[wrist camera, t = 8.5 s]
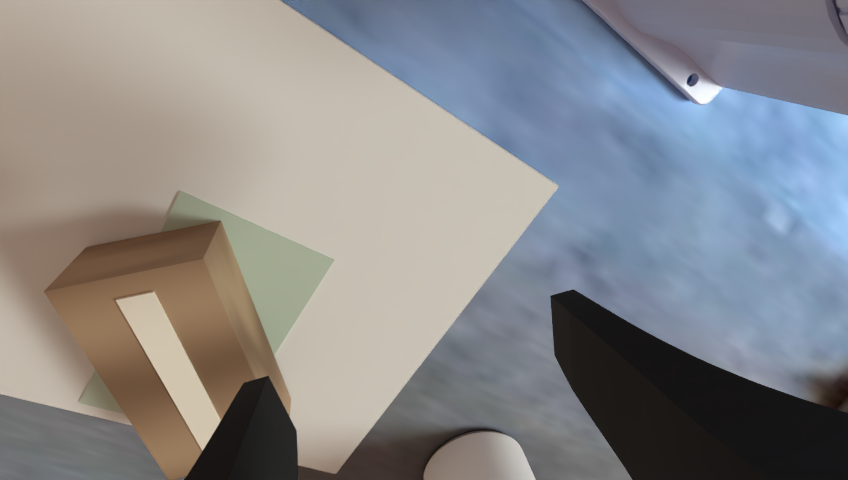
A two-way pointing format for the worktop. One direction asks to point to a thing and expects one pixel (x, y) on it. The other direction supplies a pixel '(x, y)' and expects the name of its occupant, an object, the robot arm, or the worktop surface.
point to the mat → (245, 193)
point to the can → (479, 458)
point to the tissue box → (168, 334)
